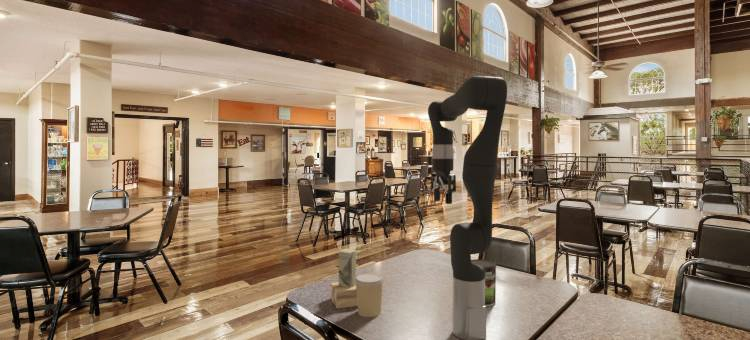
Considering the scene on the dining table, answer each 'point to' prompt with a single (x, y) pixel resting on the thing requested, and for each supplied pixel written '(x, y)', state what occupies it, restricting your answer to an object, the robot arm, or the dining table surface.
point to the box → (347, 268)
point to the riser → (343, 295)
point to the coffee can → (488, 280)
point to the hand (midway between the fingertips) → (442, 202)
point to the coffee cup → (369, 294)
